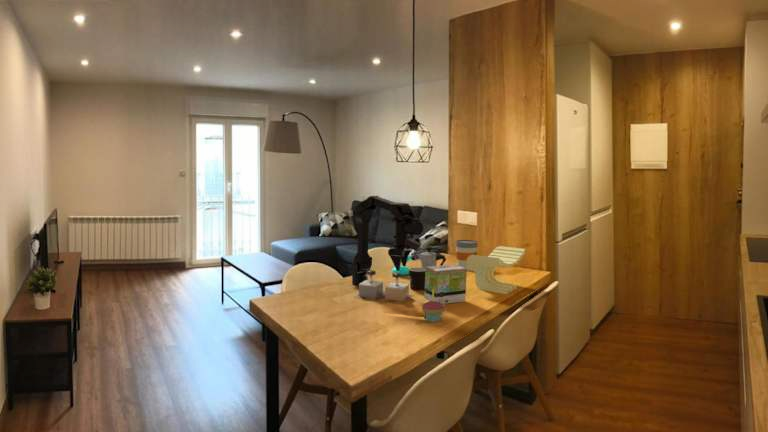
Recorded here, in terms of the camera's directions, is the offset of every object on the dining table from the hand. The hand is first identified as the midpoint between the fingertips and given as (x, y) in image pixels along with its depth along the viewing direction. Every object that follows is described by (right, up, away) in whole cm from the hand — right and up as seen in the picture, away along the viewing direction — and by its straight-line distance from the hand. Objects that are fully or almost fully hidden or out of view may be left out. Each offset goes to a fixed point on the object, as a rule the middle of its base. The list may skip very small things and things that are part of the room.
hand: (401, 268), depth 209 cm
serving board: (-7, -13, +1) cm, 15 cm away
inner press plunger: (-13, -9, +3) cm, 16 cm away
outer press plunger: (-2, -9, -1) cm, 9 cm away
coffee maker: (+16, -11, +30) cm, 35 cm away
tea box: (+19, -14, -1) cm, 23 cm away
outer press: (-2, -13, -1) cm, 13 cm away
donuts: (+2, -8, +50) cm, 51 cm away
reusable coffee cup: (+39, -7, +67) cm, 78 cm away
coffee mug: (+8, -12, +17) cm, 22 cm away
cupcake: (+11, -17, -27) cm, 34 cm away
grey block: (-13, -12, +3) cm, 18 cm away
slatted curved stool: (+46, -12, +20) cm, 51 cm away
